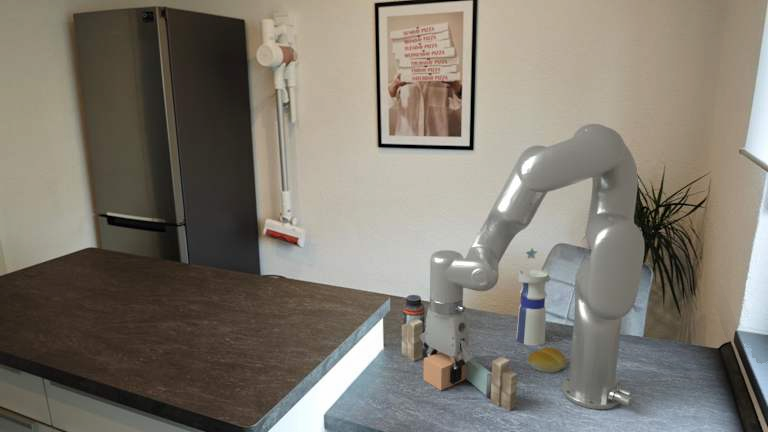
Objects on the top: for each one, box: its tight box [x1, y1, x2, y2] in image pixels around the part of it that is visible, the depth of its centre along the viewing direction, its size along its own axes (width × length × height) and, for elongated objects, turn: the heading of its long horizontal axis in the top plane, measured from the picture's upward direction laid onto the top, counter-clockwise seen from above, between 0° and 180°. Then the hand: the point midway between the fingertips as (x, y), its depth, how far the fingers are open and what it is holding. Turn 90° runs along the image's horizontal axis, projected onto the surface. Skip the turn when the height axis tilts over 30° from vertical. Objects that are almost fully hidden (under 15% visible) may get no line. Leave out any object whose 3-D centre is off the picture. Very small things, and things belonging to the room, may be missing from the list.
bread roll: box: [527, 346, 567, 374], centre depth 133 cm, size 8×9×4 cm
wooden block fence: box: [401, 319, 518, 412], centre depth 126 cm, size 34×3×10 cm, turn 41°
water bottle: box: [515, 247, 551, 347], centre depth 144 cm, size 8×9×25 cm
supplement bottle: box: [402, 294, 425, 333], centre depth 149 cm, size 6×6×11 cm
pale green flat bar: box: [437, 351, 492, 399], centre depth 128 cm, size 23×2×5 cm, turn 25°
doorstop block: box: [423, 352, 467, 391], centre depth 126 cm, size 6×8×6 cm
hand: (444, 375), depth 126 cm, fingers closed on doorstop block, 6 cm apart
